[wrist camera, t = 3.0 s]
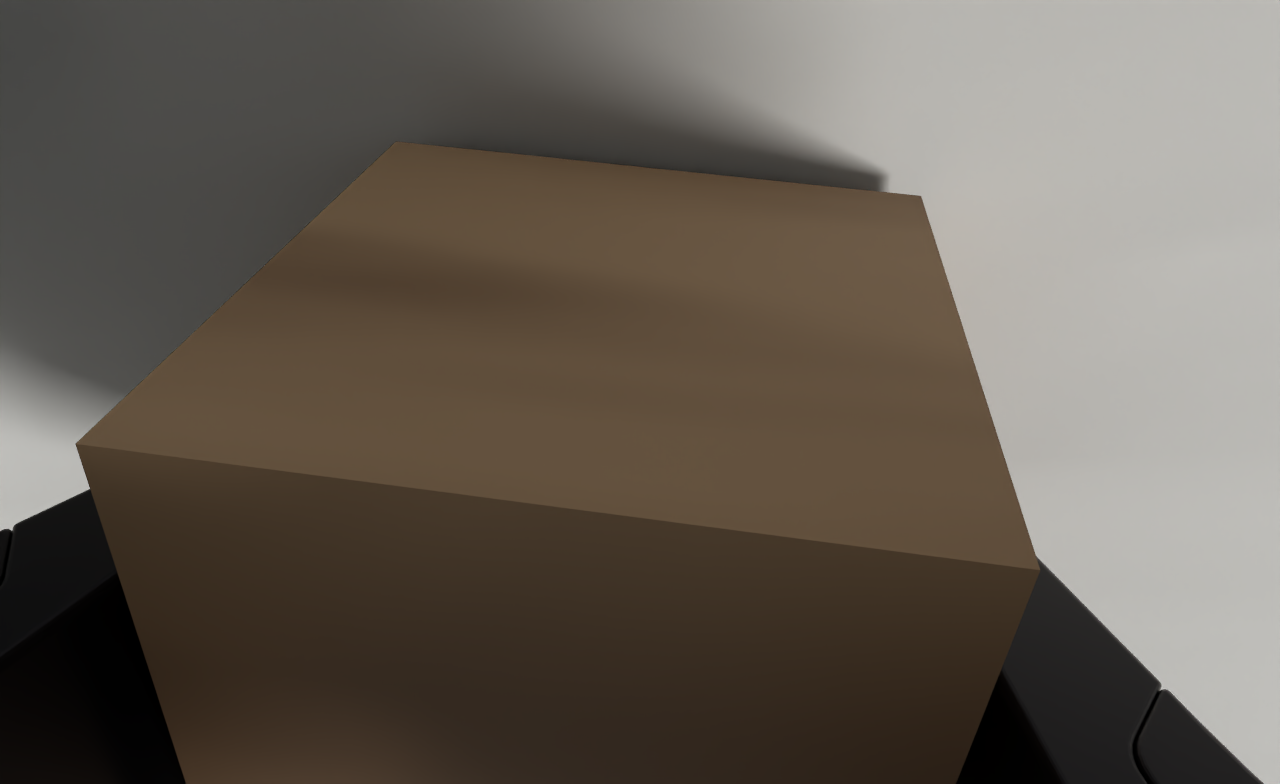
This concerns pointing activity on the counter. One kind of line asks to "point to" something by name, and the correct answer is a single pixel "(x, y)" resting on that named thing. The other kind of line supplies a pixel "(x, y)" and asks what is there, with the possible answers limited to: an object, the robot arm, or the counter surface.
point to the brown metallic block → (572, 490)
